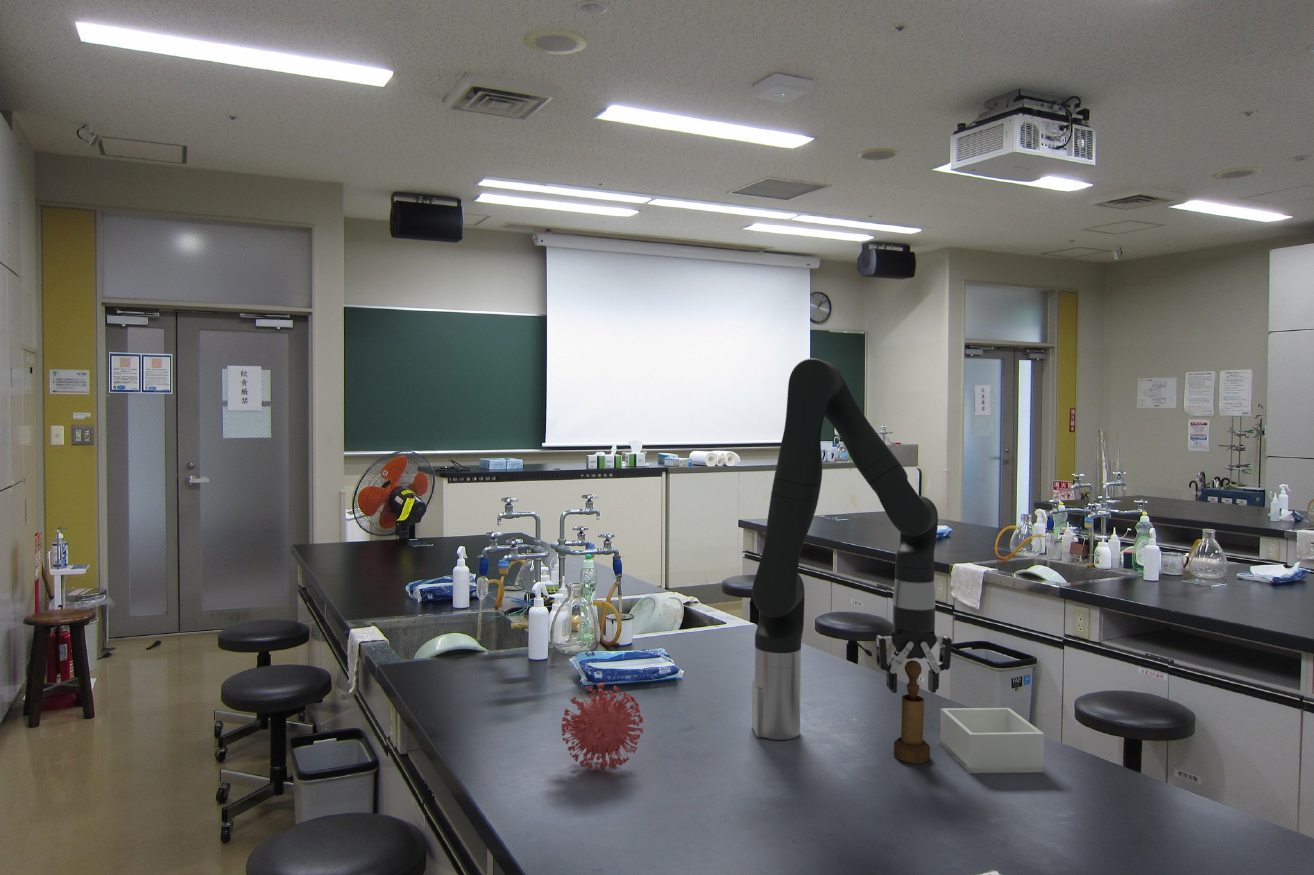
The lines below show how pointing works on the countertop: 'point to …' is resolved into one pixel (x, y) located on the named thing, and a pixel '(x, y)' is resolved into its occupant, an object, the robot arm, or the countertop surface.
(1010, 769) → the box
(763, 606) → the robot arm
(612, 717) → the virus model
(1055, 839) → the countertop surface
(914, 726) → the mortar and pestle
